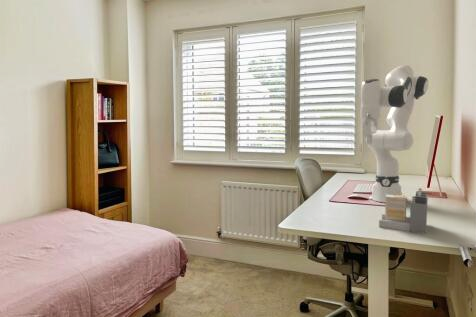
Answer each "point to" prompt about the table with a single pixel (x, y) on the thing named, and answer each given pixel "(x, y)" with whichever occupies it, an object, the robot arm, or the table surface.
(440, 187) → the table surface
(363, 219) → the table surface
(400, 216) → the supplement box
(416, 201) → the gray l-shaped stand
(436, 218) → the table surface
